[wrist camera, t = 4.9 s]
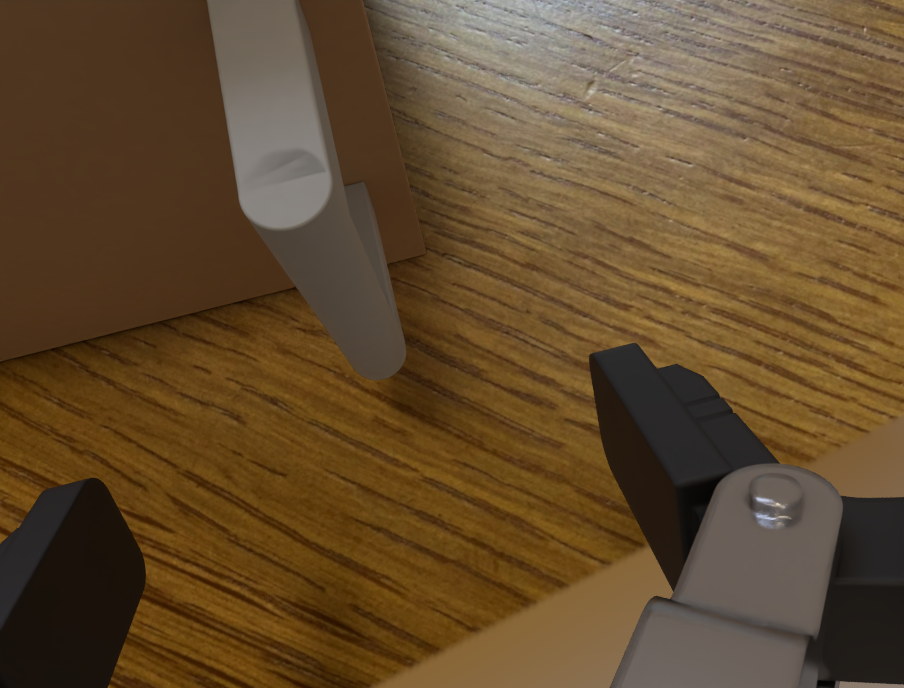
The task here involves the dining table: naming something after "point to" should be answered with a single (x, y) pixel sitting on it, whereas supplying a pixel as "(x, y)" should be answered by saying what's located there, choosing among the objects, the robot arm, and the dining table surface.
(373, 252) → the cupboard door
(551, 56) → the dining table surface
